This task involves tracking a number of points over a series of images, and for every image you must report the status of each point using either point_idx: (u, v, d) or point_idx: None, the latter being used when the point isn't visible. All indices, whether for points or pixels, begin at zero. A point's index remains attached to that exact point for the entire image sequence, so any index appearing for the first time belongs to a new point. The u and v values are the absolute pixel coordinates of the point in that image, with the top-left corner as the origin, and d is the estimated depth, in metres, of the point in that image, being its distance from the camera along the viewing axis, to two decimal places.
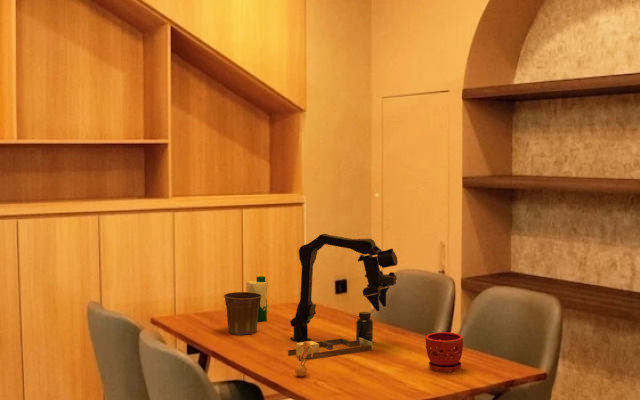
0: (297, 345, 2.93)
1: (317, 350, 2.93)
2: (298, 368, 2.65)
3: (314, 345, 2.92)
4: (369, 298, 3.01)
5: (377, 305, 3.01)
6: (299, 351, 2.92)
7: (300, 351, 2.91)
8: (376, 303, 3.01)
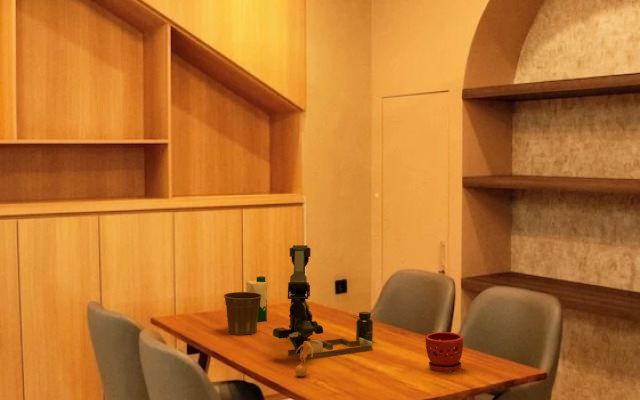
0: None
1: (321, 349, 2.93)
2: (298, 368, 2.65)
3: (318, 344, 2.93)
4: (291, 338, 2.92)
5: (296, 348, 2.90)
6: None
7: None
8: (295, 345, 2.90)
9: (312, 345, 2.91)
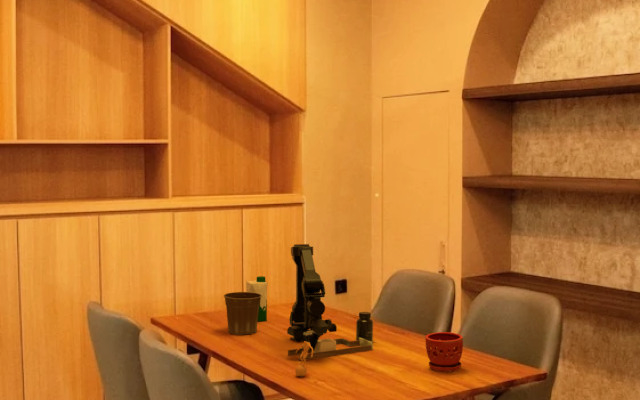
0: None
1: (334, 347, 2.96)
2: (298, 368, 2.65)
3: (331, 342, 2.96)
4: (305, 336, 2.94)
5: None
6: (316, 348, 2.95)
7: (318, 348, 2.94)
8: None
9: (326, 343, 2.94)
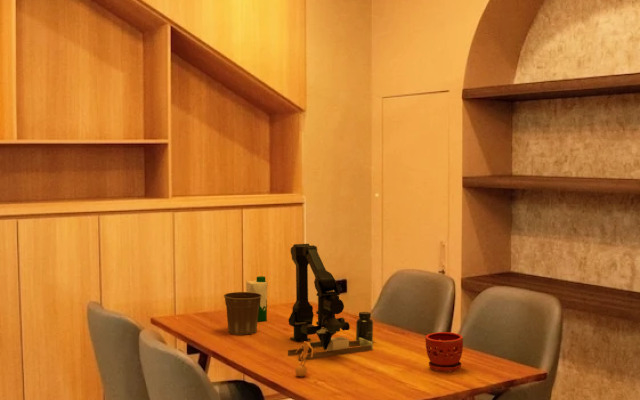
0: None
1: (347, 345, 2.99)
2: (298, 368, 2.65)
3: (344, 340, 2.98)
4: (318, 334, 2.97)
5: (323, 344, 2.96)
6: (329, 347, 2.98)
7: (331, 346, 2.97)
8: (322, 342, 2.96)
9: (338, 341, 2.97)
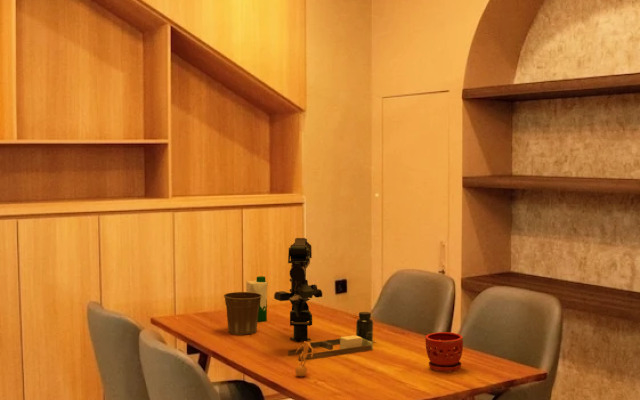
0: (341, 339, 3.03)
1: (360, 344, 3.02)
2: (298, 368, 2.65)
3: (357, 339, 3.02)
4: (291, 301, 3.03)
5: (296, 311, 3.02)
6: (342, 345, 3.02)
7: (344, 344, 3.01)
8: (295, 308, 3.02)
9: (352, 340, 3.00)
